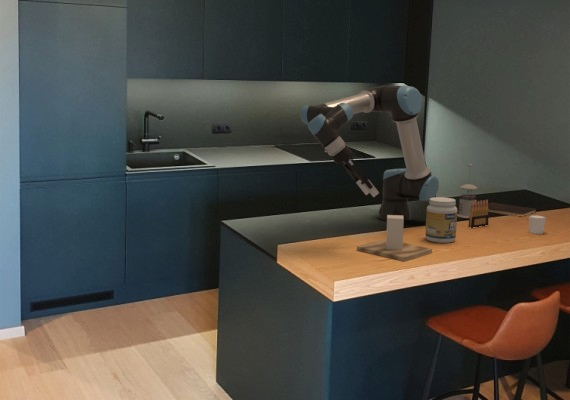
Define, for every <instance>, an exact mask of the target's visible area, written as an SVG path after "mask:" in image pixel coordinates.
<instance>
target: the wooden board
mask: <svg viewBox="0 0 570 400" xmlns="http://www.w3.org/2000/svg"><path fill="white" fill-rule="evenodd" d="M356 251H357V252H363V253H366V254H371V255H375V256H380V257H384V258H388V259H392V260H396V261H401V262H408V261H410V260H413V259H416V258H420V257H423V256H425V255H426V256H427V255H430V254H433V248H430V247H426V246H425V247H424V246H419V245H416V244H411V243H405V242H403V246H402V250H391V249H386V238H383V239H380V240H376V241H372V242H368V243H365V244H362V245H361V244H360V245H357V246H356Z"/></svg>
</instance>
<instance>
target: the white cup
mask: <svg viewBox="0 0 570 400" xmlns="http://www.w3.org/2000/svg"><path fill="white" fill-rule="evenodd" d="M546 219H547V217H546V216H543V215H536V214H535V215H534V214H533V215H532V214H530V215H528V232H529V233H530V234H534V235H542V234H544V230H545V223H546Z"/></svg>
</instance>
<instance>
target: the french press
mask: <svg viewBox="0 0 570 400" xmlns="http://www.w3.org/2000/svg"><path fill="white" fill-rule="evenodd" d="M467 167H473V164H472V163H468V165H467ZM470 175H471V170H469V175H468V180H470ZM460 189H462V190H466V191H467V194H460V198H459V200H458V201H459V203H458V205H459V206H458V213H457V218H463V219H469V216H470V211H471V205H472V202H474V203H475V201H476V202H478V201H477V196H476V195H475V194H474V195H473V194H470V193H473V191H474V190H478V187H477V186H476V185H474V184H471V183H465V184H463V185H461V186H460Z"/></svg>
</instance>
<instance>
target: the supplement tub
mask: <svg viewBox="0 0 570 400" xmlns="http://www.w3.org/2000/svg"><path fill="white" fill-rule="evenodd" d="M428 202H429V204H428V205H427V207H426V218H425V219H426V220H425V234H424V235H425V237H424V238H425V239H426V240H427V241H429V242H433V243H437V244H438V243H439V244H448V243H453V242H455V241H456V239H457V238H456V237H457V225H458V223H457V222H458V221H457V220H458V216H457V214H458V208H457V206H456V205H457V203H456V199H455V198H452V197H451V198H450V197H442V196H441V197H437V196H435V197H434V198H430V201H428Z"/></svg>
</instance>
